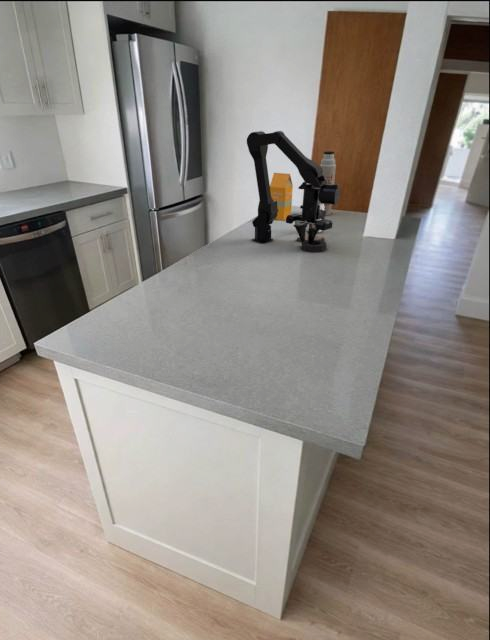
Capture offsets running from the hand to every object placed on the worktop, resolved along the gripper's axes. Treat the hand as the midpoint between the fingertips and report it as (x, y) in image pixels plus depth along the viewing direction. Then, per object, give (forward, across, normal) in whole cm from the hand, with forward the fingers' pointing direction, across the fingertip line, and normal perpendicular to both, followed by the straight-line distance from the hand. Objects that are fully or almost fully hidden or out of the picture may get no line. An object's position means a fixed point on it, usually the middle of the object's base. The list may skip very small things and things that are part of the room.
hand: (306, 244), depth 169 cm
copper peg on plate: (+1, +4, -8) cm, 10 cm away
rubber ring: (+1, -4, 0) cm, 4 cm away
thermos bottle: (+1, +30, -52) cm, 60 cm away
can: (+1, +12, -22) cm, 25 cm away
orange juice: (+1, +40, -31) cm, 51 cm away
